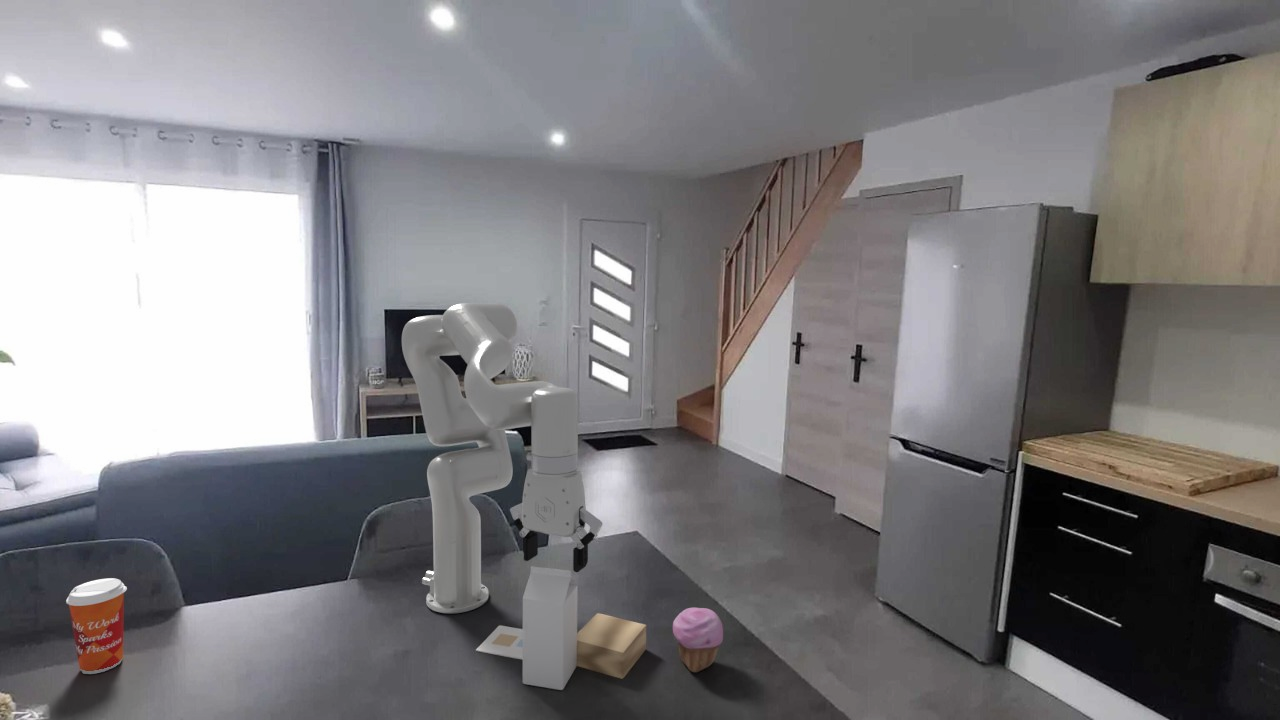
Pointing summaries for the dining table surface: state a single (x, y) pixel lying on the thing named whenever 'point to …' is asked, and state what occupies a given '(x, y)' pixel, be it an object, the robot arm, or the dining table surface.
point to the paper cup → (98, 622)
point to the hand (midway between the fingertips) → (554, 563)
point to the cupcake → (698, 637)
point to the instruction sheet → (504, 642)
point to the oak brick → (610, 645)
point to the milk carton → (549, 628)
